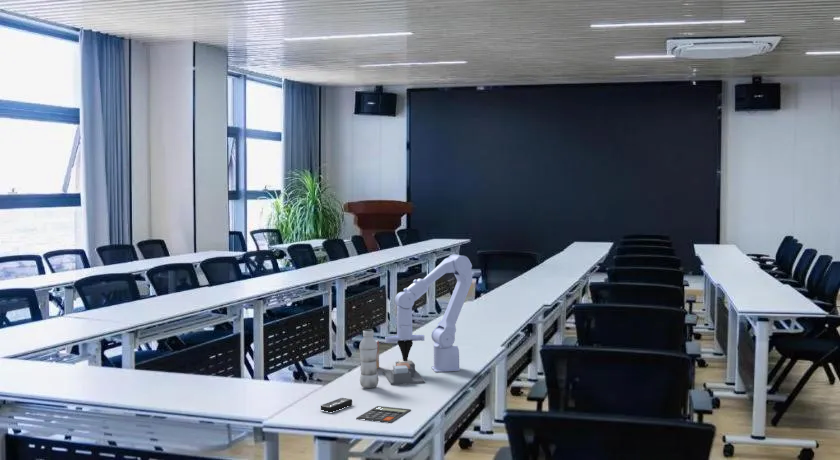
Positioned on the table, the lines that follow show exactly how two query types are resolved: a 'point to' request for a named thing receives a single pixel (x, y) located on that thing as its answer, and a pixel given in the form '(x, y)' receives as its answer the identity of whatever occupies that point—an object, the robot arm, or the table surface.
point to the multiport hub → (336, 404)
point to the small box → (377, 355)
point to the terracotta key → (403, 365)
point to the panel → (404, 376)
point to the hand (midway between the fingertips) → (405, 360)
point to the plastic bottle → (368, 360)
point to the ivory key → (405, 361)
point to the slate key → (400, 369)
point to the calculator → (384, 414)
